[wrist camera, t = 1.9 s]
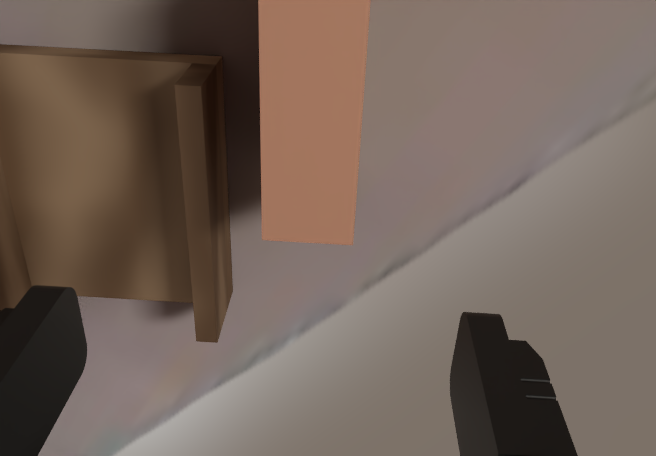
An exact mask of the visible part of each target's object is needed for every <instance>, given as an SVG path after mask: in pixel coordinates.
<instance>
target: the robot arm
mask: <svg viewBox="0 0 656 456" xmlns="http://www.w3.org/2000/svg"><path fill="white" fill-rule="evenodd" d="M86 357H87V343H86V338H85V333H84V328H83V323H82V318H81V313H80V308H79V303H78V298H77V294H76V292H75V290H74V289H73V288H72V287H60V286H44V285H34V286H32V287H31V288H30V289H29V290H28V291H27V293H26V294H25V295H24V296H23V298H22V299H21V300H20V302H19V303H18V304H17V305H16V307H15V308H4V309H3V310H1V311H0V456H38V454H39V452H40V450H41V448H42V447H43V445H44V443H45V441H46V439H47V437H48V436H49V434H50V432H51V430H52V428H53V426H54V425H55V423H56V421H57V419H58V417H59V415H60V414H61V412H62V410H63V408H64V406H65V404H66V402H67V401H68V399H69V397H70V395H71V393H72V391H73V390H74V388H75V386H76V384H77V382H78V380H79V379H80V377H81V375H82V373H83V370H84V367H85V363H86ZM450 396H451V403H452V409H453V415H454V421H455V427H456V433H457V439H458V445H459V450H460V456H578V455H577V453H576V450H575V447H574V445H573V442H572V439H571V437H570V433H569V431H568V428H567V425H566V422H565V420H564V417H563V414H562V411H561V409H560V406H559V403H558V401H556V395H555V392H554V389H553V387H552V384H550V378H549V375H548V373H547V370H546V367H545V365H544V362H543V360H542V358H541V357H540V356H539V355H538V354H537V353H536V351H535V350H534V349H533V348H532V347H531V346H530V345H529V344H528V343H527V342H526V341H519V340H509V339H508V336H507V332H506V329H505V326H504V322H503V319H502V317H501V315H499V314H487V313H471V312H463V313H462V316H461V318H460V323H459V328H458V334H457V340H456V345H455V350H454V355H453V361H452V366H451V373H450Z"/></svg>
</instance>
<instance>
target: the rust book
mask: <svg viewBox="0 0 656 456" xmlns="http://www.w3.org/2000/svg"><path fill="white" fill-rule="evenodd" d="M258 10H259V75H260V140H261V206H262V240H272V241H289V242H306V243H324V244H341V245H353V237H354V223H355V209H356V195H357V181H358V167H359V153H360V139H361V125H362V111H363V97H364V83H365V69H366V55H367V41H368V27H369V13H370V0H258Z"/></svg>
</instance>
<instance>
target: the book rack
mask: <svg viewBox="0 0 656 456" xmlns="http://www.w3.org/2000/svg"><path fill="white" fill-rule="evenodd" d="M34 285H44V286H60V287H72V288H73V289H74V290H75V292H76V294H77V296H88V297H104V298H121V299H137V300H154V301H170V302H187V303H193V307H194V319H195V331H196V341H200V342H216V343H217V342H218V339H219V335H220V332H221V328H222V325H223V322H224V318H225V315H226V312H227V308H228V305H229V302H230V298H231V295H232V292H233V285H232V263H231V241H230V219H229V196H228V174H227V152H226V130H225V108H224V86H223V64H222V56H207V55H189V54H170V53H151V52H132V51H113V50H95V49H76V48H57V47H38V46H19V45H1V44H0V311H1V310H3V309H4V308H15V307H16V305H17V304H18V303H19V302H20V300H21V299H22V298H23V296H24V295H25V294H26V293H27V291H28V290H29V289H30V288H31V287H32V286H34Z"/></svg>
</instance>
